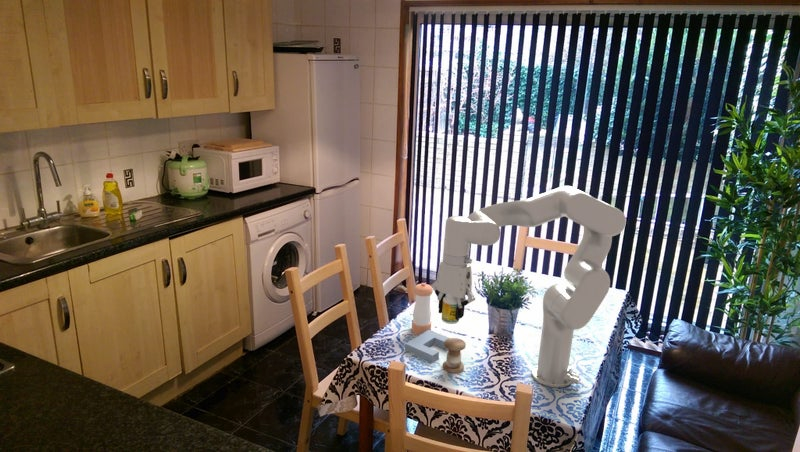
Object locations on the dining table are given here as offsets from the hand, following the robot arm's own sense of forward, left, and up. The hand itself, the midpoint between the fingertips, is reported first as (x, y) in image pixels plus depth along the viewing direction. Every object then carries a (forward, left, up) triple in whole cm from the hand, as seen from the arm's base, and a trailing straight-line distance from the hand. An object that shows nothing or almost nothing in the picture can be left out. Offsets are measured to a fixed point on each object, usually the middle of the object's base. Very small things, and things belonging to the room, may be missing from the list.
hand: (450, 314), depth 162 cm
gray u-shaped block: (+17, -15, -24) cm, 33 cm away
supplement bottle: (0, 0, -2) cm, 2 cm away
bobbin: (+4, -10, -24) cm, 26 cm away
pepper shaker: (+27, -23, -24) cm, 43 cm away
